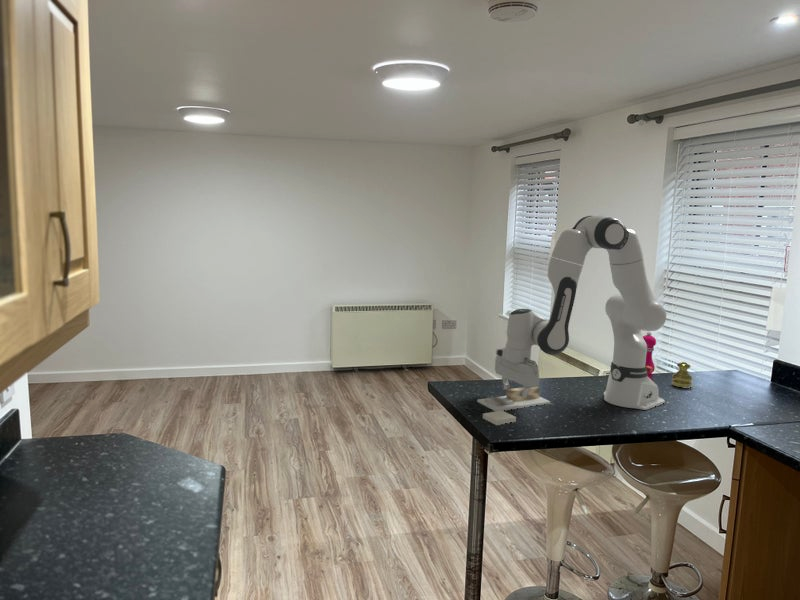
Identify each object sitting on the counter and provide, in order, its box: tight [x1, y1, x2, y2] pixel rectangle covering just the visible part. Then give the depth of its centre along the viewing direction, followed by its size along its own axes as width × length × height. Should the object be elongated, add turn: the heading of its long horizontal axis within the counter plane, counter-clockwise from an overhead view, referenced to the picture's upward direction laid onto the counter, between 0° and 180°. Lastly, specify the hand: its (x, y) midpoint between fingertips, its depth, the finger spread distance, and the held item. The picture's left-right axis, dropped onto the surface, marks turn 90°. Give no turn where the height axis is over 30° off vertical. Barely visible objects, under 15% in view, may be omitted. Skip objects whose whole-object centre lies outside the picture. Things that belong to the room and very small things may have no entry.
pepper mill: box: [642, 331, 657, 380], centre depth 248 cm, size 7×7×20 cm
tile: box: [482, 410, 517, 426], centre depth 190 cm, size 2×7×8 cm
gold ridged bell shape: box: [671, 361, 693, 388], centre depth 239 cm, size 7×7×10 cm
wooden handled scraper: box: [484, 386, 541, 407], centre depth 208 cm, size 21×6×4 cm, turn 118°
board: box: [476, 395, 551, 412], centre depth 208 cm, size 24×11×1 cm, turn 118°
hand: (514, 392), depth 208 cm, fingers open, 8 cm apart
